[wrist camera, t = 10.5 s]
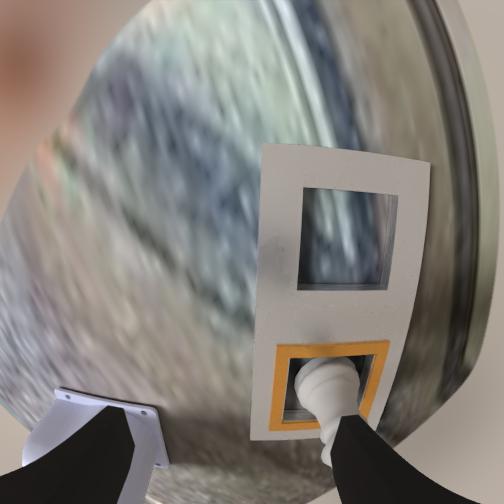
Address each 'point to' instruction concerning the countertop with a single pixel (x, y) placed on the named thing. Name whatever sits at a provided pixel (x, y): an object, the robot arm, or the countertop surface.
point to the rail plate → (331, 295)
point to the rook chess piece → (329, 395)
